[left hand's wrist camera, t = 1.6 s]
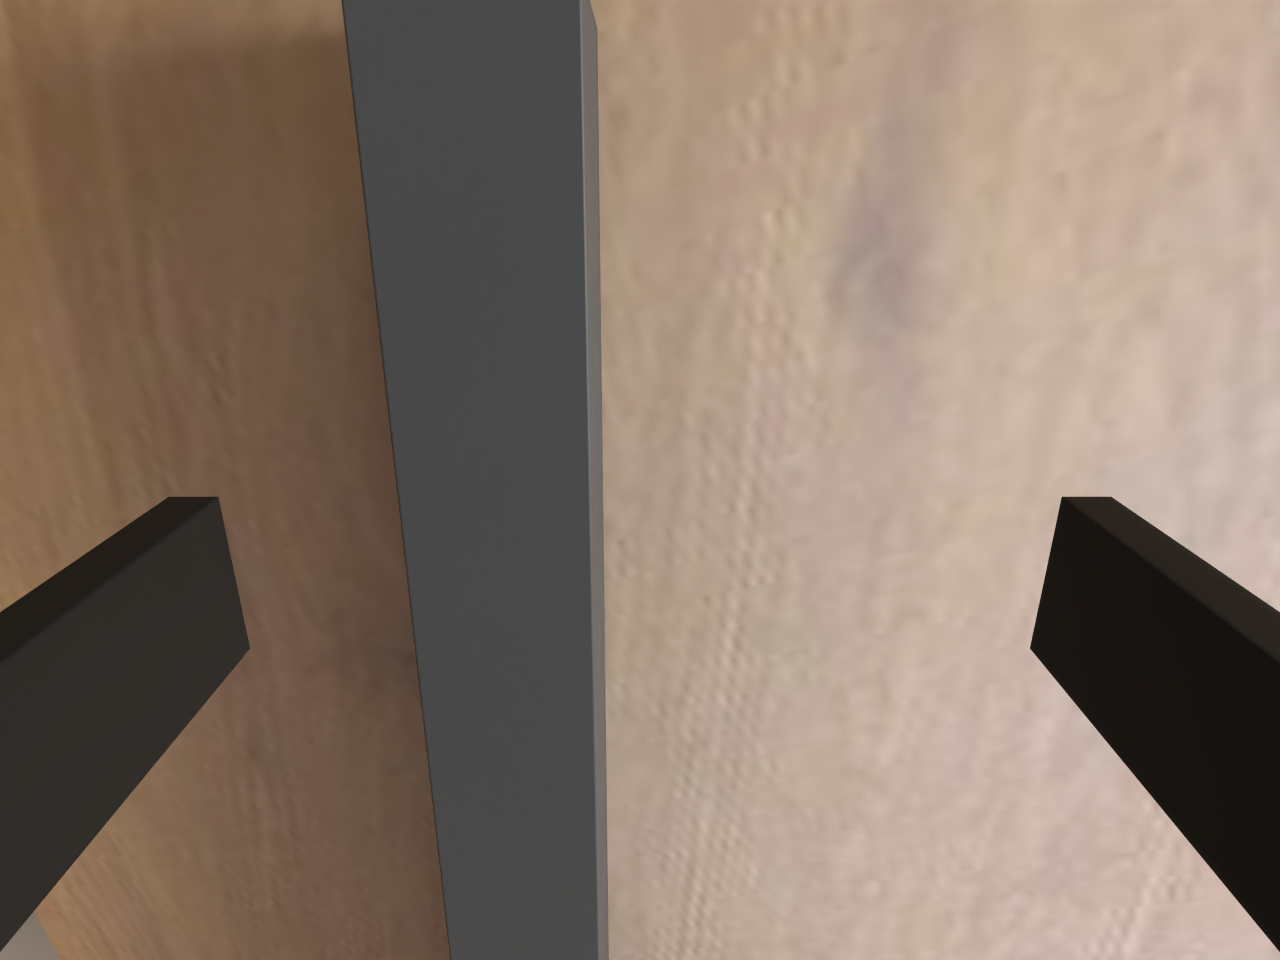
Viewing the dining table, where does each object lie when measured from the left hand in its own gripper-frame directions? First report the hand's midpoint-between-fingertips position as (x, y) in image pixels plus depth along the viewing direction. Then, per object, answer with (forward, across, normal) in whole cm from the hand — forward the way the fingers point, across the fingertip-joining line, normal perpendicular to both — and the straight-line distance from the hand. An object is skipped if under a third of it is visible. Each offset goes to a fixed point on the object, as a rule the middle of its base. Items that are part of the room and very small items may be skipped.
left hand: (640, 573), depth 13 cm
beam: (+17, -4, -19) cm, 26 cm away
